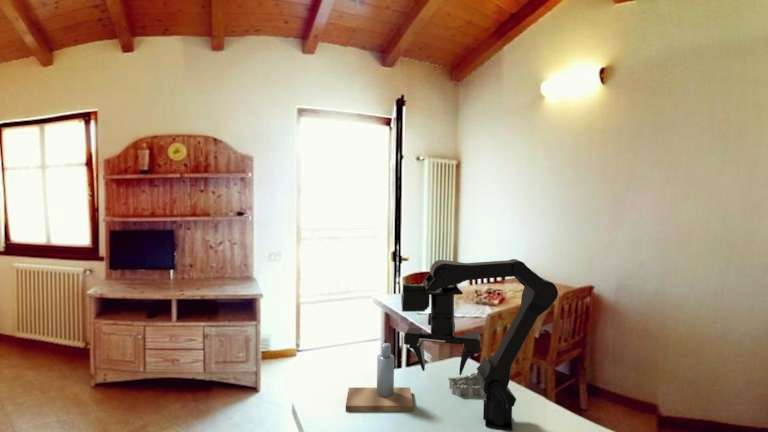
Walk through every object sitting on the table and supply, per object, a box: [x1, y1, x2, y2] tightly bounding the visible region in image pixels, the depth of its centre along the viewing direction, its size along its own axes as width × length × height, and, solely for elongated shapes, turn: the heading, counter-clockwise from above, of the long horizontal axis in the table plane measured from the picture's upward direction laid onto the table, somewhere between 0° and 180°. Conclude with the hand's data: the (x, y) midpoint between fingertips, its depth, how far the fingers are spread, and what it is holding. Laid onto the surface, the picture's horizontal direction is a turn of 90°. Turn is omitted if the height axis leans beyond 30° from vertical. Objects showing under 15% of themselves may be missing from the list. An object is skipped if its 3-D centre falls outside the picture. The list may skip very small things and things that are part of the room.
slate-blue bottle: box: [376, 342, 395, 397], centre depth 110 cm, size 5×5×14 cm
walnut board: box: [345, 386, 414, 412], centre depth 109 cm, size 18×10×2 cm, turn 90°
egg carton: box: [448, 372, 486, 397], centre depth 116 cm, size 11×8×4 cm
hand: (441, 372), depth 98 cm, fingers open, 9 cm apart
